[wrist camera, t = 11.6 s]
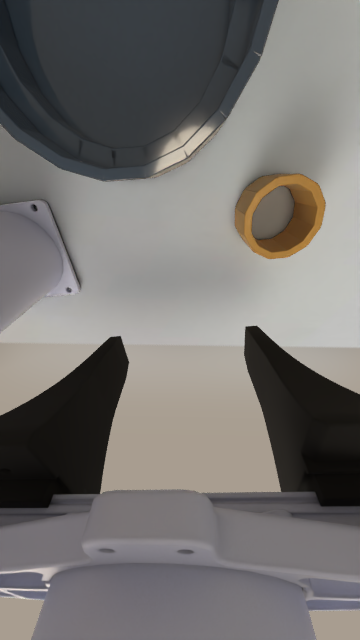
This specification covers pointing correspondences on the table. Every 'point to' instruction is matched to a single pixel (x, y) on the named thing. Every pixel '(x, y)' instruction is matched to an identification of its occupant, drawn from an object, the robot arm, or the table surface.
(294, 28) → the table surface
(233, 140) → the table surface
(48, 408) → the robot arm
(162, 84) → the bowl
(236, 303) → the table surface
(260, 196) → the ring
